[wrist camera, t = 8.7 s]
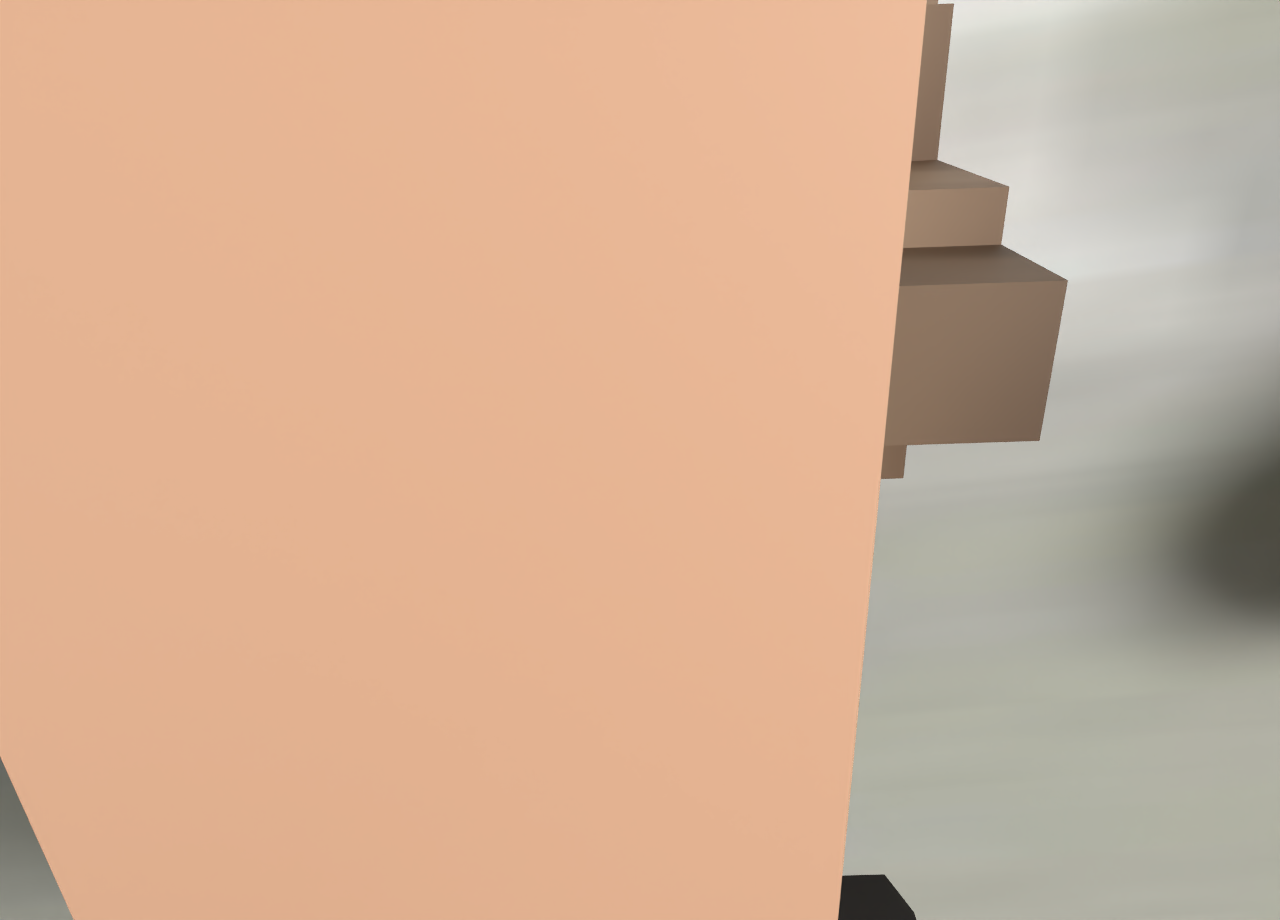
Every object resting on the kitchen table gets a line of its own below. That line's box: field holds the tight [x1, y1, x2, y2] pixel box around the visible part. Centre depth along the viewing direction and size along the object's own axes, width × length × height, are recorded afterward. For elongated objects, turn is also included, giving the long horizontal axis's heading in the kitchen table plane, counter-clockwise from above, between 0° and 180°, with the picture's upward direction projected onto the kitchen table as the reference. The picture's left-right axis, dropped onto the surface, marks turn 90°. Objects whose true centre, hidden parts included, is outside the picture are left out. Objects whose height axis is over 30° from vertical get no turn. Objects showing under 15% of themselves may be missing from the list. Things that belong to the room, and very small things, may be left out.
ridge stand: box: [881, 0, 1068, 479], centre depth 15 cm, size 14×12×10 cm
